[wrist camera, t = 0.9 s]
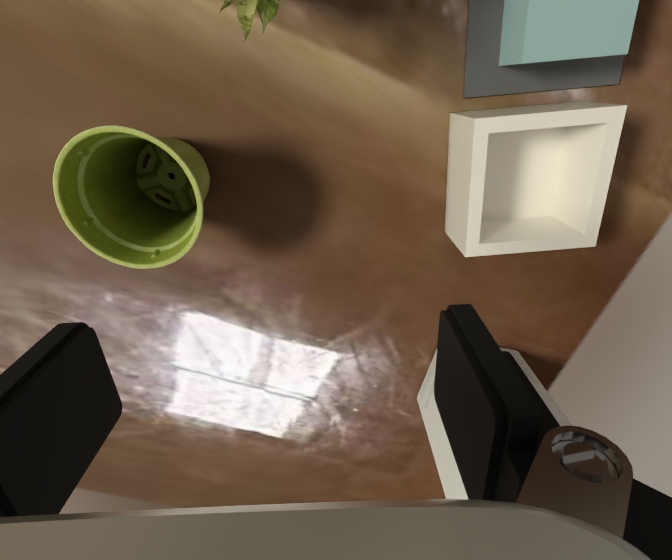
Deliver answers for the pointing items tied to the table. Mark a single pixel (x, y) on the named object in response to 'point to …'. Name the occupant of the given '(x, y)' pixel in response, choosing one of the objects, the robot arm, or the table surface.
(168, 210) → the plant pot
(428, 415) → the supplement box
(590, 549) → the robot arm
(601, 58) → the mat
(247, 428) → the table surface
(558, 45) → the teal rectangular block
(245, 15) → the house plant
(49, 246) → the table surface
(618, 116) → the white open-top box
